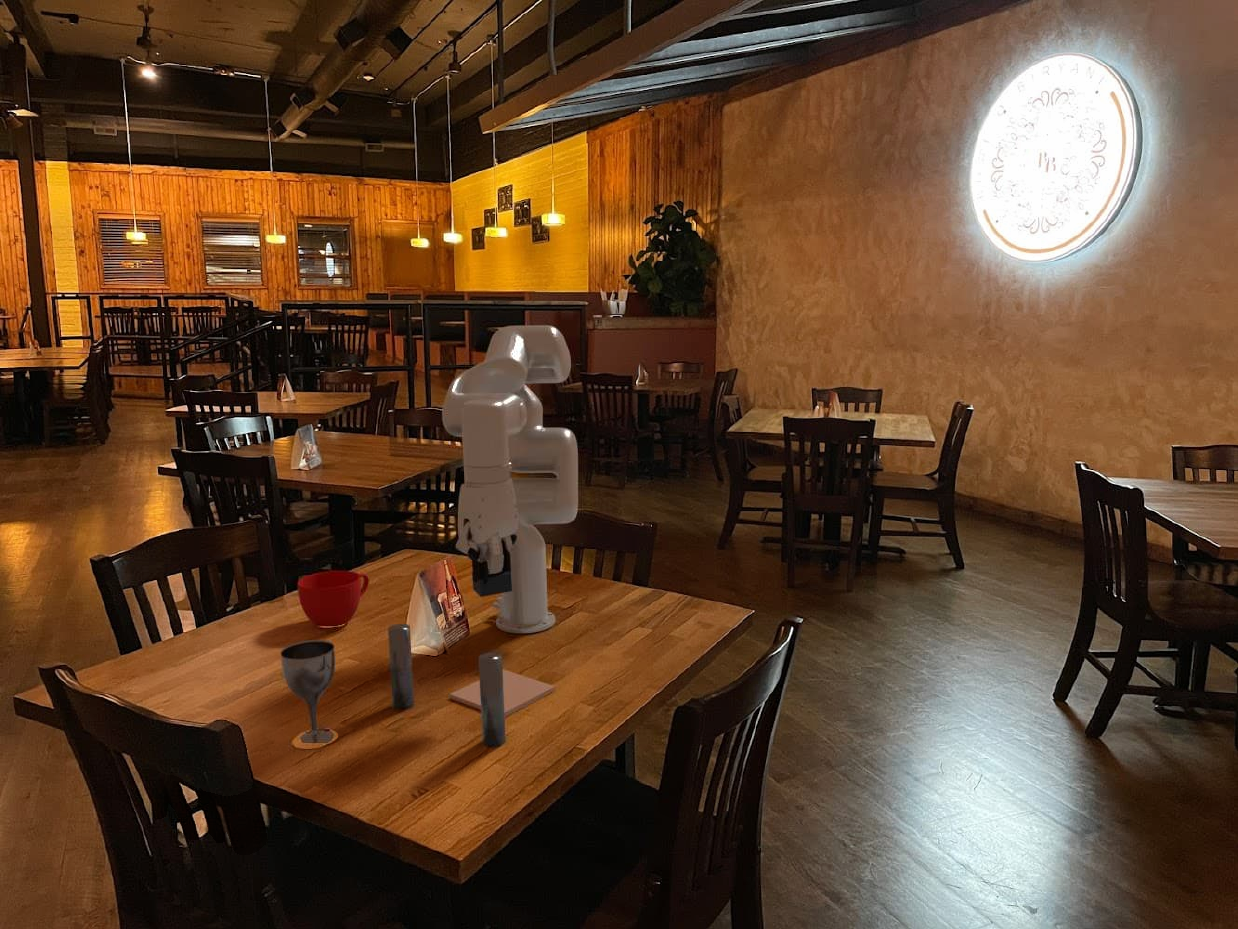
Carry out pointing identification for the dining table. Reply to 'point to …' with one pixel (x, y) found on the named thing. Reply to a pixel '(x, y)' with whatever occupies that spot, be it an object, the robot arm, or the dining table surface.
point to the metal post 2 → (492, 699)
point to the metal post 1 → (401, 666)
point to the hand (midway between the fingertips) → (492, 577)
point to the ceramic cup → (331, 596)
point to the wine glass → (310, 679)
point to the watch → (494, 570)
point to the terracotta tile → (507, 692)
